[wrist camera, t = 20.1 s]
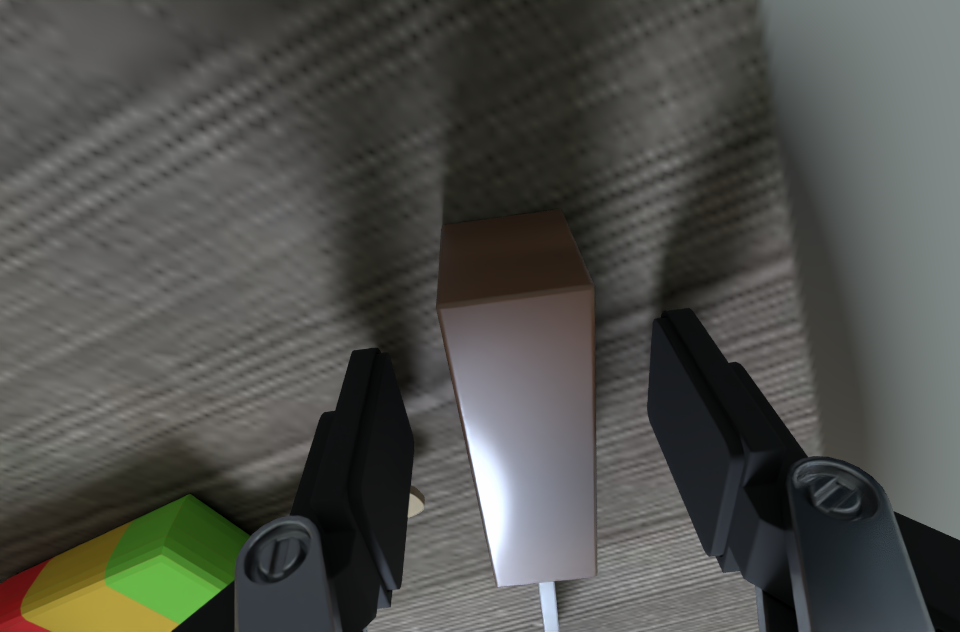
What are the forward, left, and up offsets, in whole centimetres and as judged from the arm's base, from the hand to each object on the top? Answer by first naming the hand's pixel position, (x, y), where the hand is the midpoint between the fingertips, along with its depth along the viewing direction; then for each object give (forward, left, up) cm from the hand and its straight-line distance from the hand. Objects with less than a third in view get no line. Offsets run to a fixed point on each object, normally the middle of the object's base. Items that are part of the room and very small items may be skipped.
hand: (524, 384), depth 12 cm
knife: (+5, 0, -1) cm, 5 cm away
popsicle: (+6, -10, -1) cm, 12 cm away
